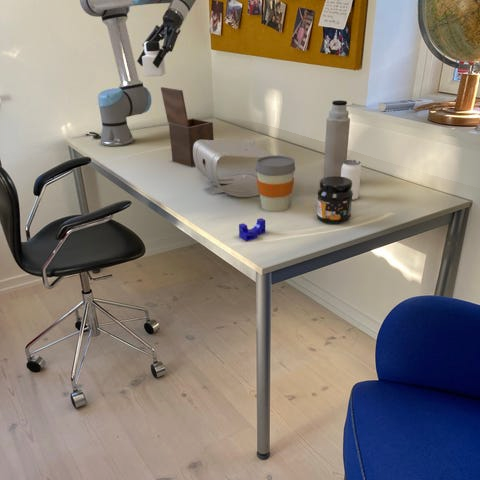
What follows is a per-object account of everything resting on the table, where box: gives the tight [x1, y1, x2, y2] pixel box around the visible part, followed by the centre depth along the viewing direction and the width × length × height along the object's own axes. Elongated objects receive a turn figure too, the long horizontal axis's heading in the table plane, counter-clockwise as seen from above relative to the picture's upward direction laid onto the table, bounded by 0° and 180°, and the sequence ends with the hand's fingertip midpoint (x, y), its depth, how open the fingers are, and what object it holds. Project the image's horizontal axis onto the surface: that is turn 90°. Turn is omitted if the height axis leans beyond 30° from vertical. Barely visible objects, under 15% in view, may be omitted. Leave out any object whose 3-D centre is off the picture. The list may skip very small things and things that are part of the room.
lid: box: [160, 86, 189, 127], centre depth 204 cm, size 14×13×1 cm
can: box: [341, 159, 362, 201], centre depth 174 cm, size 6×6×12 cm
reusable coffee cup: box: [255, 155, 296, 212], centre depth 168 cm, size 12×13×15 cm
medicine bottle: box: [142, 41, 166, 77], centre depth 205 cm, size 7×7×12 cm
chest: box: [168, 117, 215, 168], centre depth 216 cm, size 13×13×15 cm
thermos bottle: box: [322, 99, 351, 179], centre depth 184 cm, size 8×8×28 cm
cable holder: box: [238, 217, 266, 242], centre depth 151 cm, size 8×4×4 cm, turn 124°
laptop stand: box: [193, 139, 280, 198], centre depth 185 cm, size 26×24×16 cm
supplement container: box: [316, 176, 353, 225], centre depth 158 cm, size 10×10×12 cm
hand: (147, 64), depth 204 cm, fingers closed on medicine bottle, 10 cm apart
